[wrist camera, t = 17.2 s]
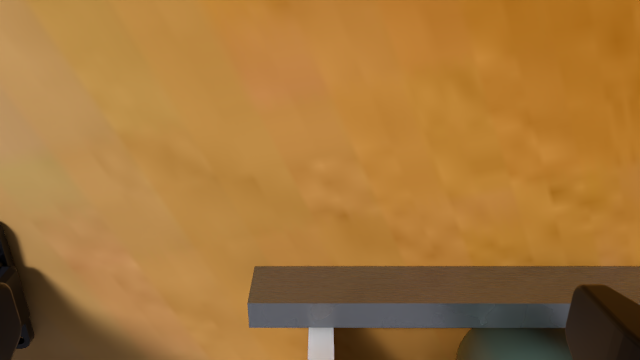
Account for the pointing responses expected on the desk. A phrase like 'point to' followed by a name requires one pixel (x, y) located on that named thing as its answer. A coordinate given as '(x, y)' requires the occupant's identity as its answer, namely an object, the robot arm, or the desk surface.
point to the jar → (514, 344)
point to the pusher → (321, 344)
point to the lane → (425, 296)
